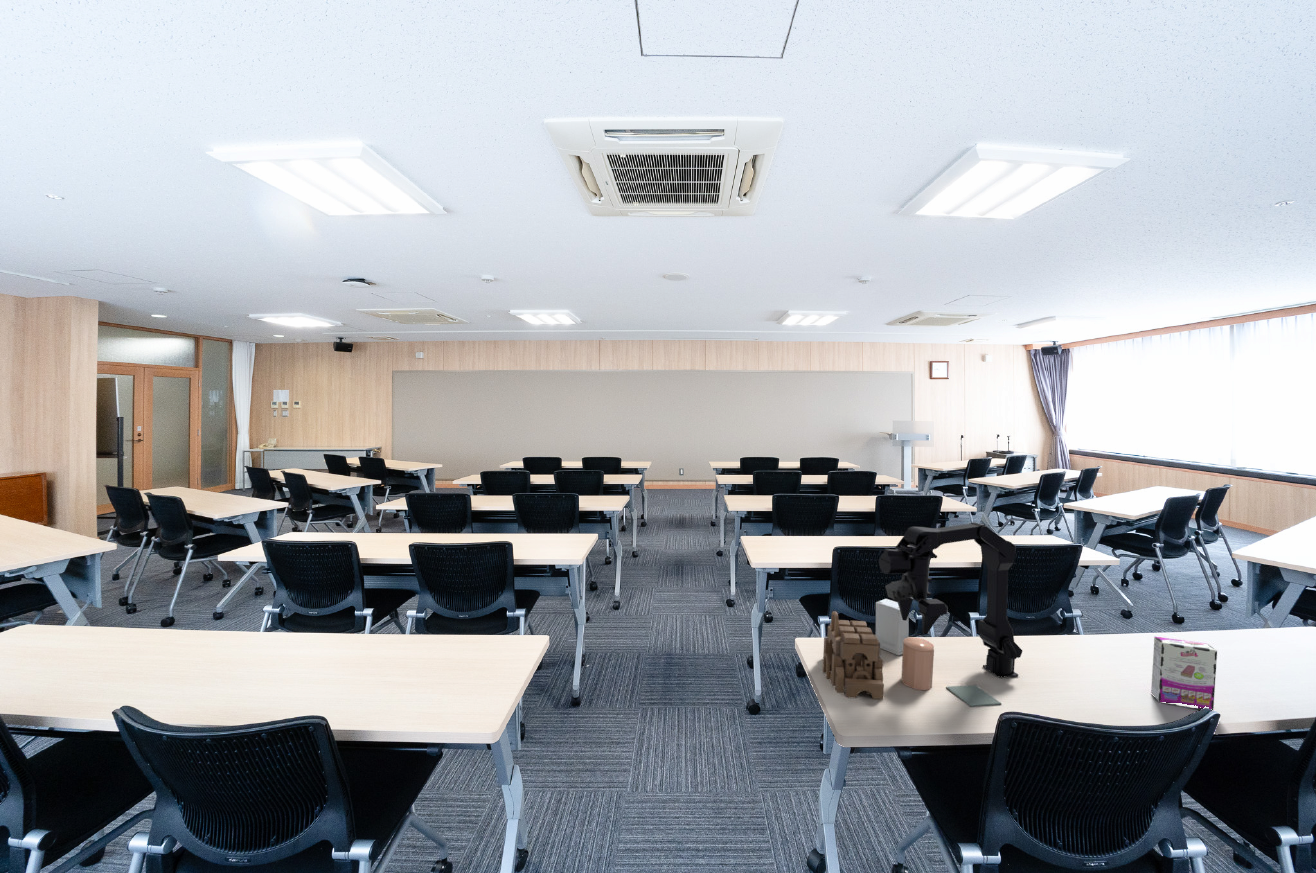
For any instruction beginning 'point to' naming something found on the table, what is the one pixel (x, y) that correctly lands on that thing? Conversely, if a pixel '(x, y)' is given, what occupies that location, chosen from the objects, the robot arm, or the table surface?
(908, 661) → the salmon pink cylinder
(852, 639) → the wooden puzzle
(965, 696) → the mat
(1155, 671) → the candy bar box
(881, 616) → the skincare box
